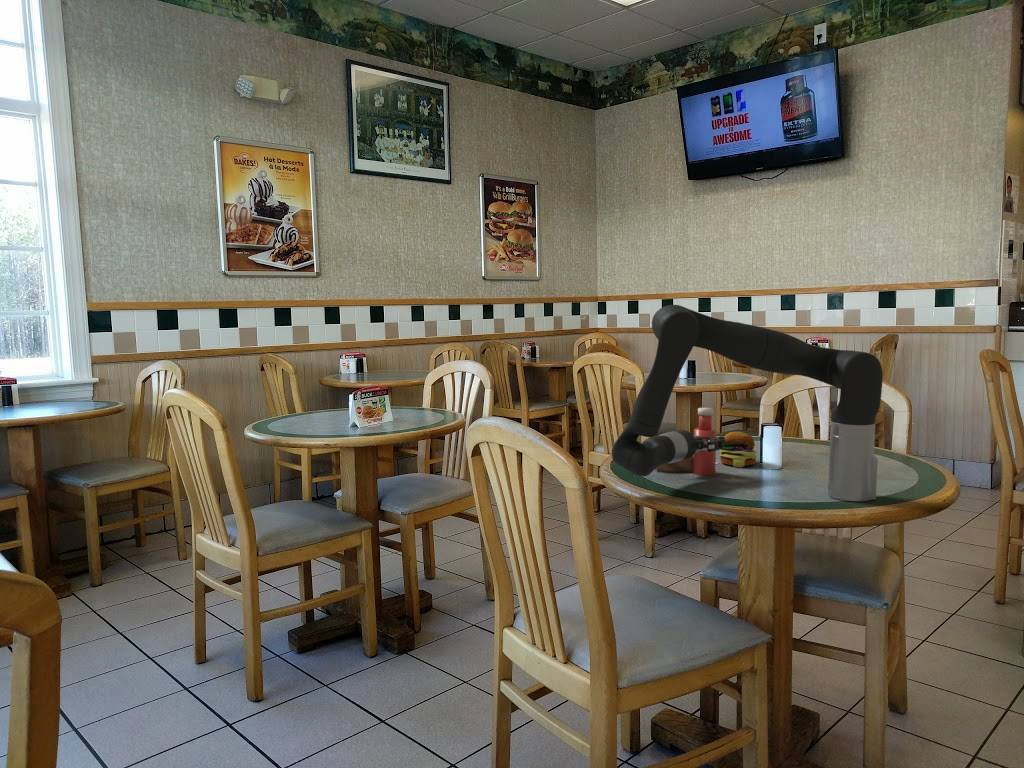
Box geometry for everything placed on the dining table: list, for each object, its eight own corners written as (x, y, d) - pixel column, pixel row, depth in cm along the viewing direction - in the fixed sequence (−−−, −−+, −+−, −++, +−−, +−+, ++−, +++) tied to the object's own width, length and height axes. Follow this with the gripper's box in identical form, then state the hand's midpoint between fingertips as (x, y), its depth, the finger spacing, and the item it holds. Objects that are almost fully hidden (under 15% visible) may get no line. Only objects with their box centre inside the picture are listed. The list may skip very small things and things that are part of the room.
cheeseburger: (719, 467, 204) (719, 430, 205) (717, 468, 214) (717, 433, 216) (758, 468, 202) (757, 430, 203) (755, 469, 212) (754, 433, 213)
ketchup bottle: (712, 470, 200) (713, 407, 198) (717, 475, 195) (719, 410, 193) (691, 470, 200) (692, 407, 198) (696, 475, 195) (697, 410, 193)
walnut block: (686, 463, 209) (686, 449, 209) (694, 471, 199) (695, 456, 199) (650, 463, 209) (650, 449, 209) (656, 471, 199) (657, 456, 199)
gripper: (699, 435, 181) (733, 427, 192) (650, 428, 191) (685, 421, 202) (698, 465, 182) (733, 456, 193) (649, 457, 192) (684, 448, 203)
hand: (708, 438), depth 198 cm, fingers open, 8 cm apart
